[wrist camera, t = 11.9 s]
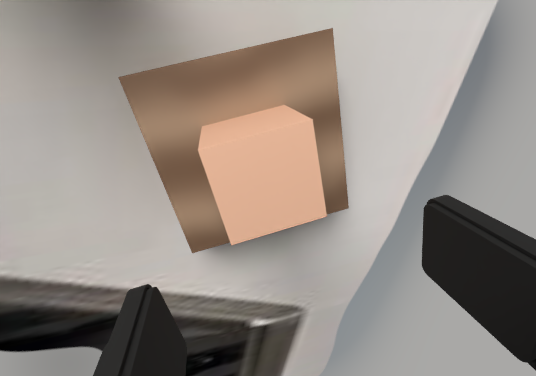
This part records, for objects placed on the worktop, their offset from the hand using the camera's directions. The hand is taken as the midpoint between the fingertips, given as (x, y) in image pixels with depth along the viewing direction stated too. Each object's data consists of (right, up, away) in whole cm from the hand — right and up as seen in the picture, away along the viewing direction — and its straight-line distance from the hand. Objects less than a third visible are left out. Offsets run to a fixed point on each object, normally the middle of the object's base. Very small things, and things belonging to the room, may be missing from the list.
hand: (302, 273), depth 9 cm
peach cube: (-2, +5, +11) cm, 13 cm away
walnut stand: (-3, +7, +16) cm, 18 cm away
